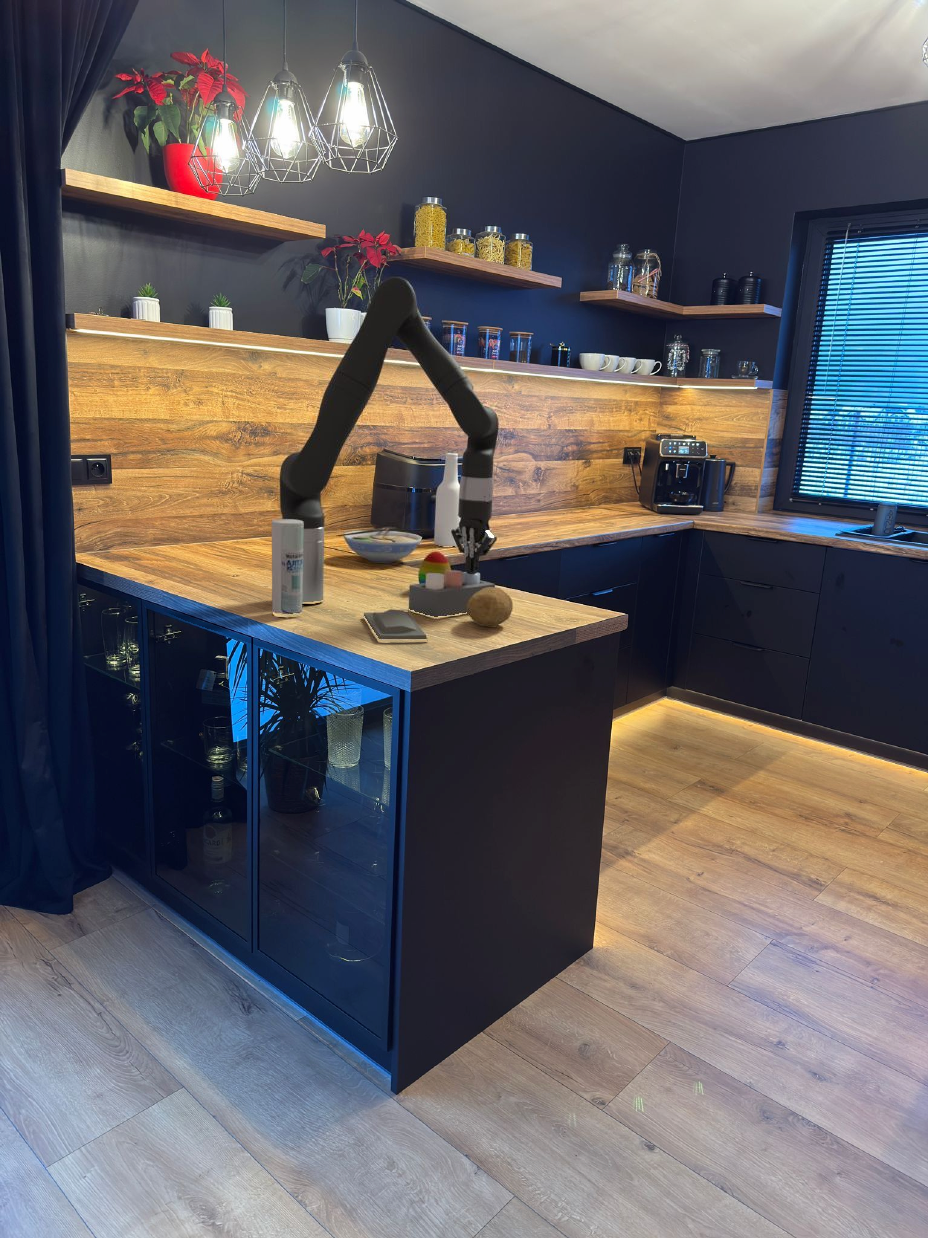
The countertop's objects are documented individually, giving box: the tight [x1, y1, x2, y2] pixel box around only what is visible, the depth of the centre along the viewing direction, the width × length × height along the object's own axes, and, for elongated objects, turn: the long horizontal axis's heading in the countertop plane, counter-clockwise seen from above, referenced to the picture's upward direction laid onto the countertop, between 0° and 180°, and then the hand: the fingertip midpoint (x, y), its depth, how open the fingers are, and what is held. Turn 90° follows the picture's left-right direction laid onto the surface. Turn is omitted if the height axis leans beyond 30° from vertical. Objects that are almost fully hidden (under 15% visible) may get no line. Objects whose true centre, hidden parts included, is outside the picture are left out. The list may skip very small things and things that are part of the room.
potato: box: [466, 586, 514, 627], centre depth 187 cm, size 10×14×8 cm
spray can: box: [271, 518, 304, 614], centre depth 184 cm, size 6×6×20 cm
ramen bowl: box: [335, 526, 423, 564], centre depth 255 cm, size 25×23×8 cm
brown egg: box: [444, 569, 464, 587], centre depth 198 cm, size 4×4×6 cm
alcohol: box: [433, 452, 461, 546], centre depth 287 cm, size 9×9×30 cm
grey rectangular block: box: [408, 579, 496, 617], centre depth 198 cm, size 18×9×6 cm, turn 134°
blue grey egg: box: [462, 571, 481, 585], centre depth 202 cm, size 4×4×6 cm
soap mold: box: [363, 608, 428, 640], centre depth 179 cm, size 10×20×4 cm, turn 14°
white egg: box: [426, 573, 444, 590], centre depth 194 cm, size 4×4×6 cm
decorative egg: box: [417, 551, 452, 584], centre depth 217 cm, size 8×8×10 cm
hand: (471, 573), depth 201 cm, fingers closed
